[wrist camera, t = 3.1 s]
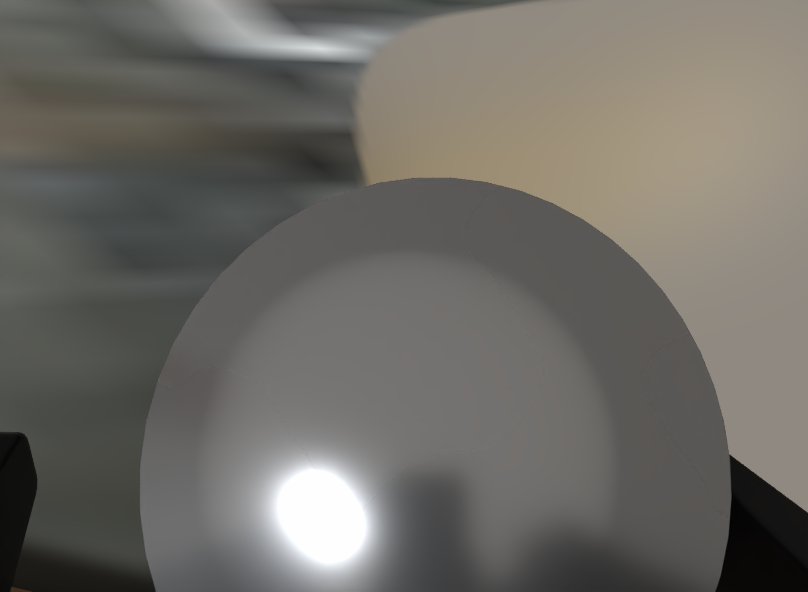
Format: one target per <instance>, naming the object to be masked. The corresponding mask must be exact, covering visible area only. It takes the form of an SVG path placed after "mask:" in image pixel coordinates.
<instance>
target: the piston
mask: <svg viewBox="0 0 808 592" xmlns="http://www.w3.org/2000/svg"><path fill="white" fill-rule="evenodd" d="M730 508H731V477H730V457H729V451H728V445H727V438H726V432H725V426H724V420H723V417H722V413H721V409H720V406H719V402H718V399H717V395H716V391H715V388H714V385H713V382H712V380H711V377H710V375H709V373H708V370H707V367H706V365H705V362H704V360H703V358H702V355H701V352H700V350H699V349H698V347H697V345H696V343H695V341H694V339H693V337H692V336H691V334H690V332H689V330H688V328H687V327H686V325H685V323H684V321H683V319H682V318H681V316H680V315H679V313H678V312H677V311H676V309H675V308H674V306H673V305H672V303H671V302H670V301H669V299H668V298H667V296H666V295H665V293H664V292H663V291H662V290H661V288H660V287H659V286H658V285H657V284H656V283H655V282H654V280H653V279H652V278H651V277H650V276H649V275H648V274H647V272H645V270H644V269H643V268H642V267H641V266H640V265H639V264H638V263H637V262H636V261H635V260H634V259H633V258H632V257H631V256H629V255H628V254H627V253H626V252H625V251H624V250H623V249H622V248H621V247H619V246H618V245H617V244H616V243H615V242H614V241H613V240H611V239H610V238H609V237H607V236H606V235H604V234H603V233H601V232H600V231H599V230H597V229H596V228H594V227H593V226H592V225H590V224H589V223H587V222H586V221H584V220H583V219H581V218H579V217H577V216H575V215H573V214H572V213H570V212H568V211H566V210H564V209H562V208H560V207H559V206H557V205H555V204H553V203H550V202H548V201H545V200H543V199H540V198H538V197H535V196H532V195H530V194H527V193H525V192H522V191H519V190H515V189H511V188H507V187H503V186H499V185H495V184H492V183H487V182H481V181H473V180H465V179H457V178H411V179H404V180H396V181H388V182H381V183H377V184H373V185H369V186H365V187H362V188H358V189H354V190H350V191H347V192H344V193H341V194H339V195H336V196H334V197H331V198H329V199H327V200H324V201H322V202H319V203H317V204H314V205H312V206H310V207H308V208H306V209H305V210H303V211H301V212H299V213H298V214H296V215H294V216H292V217H291V218H289V219H287V220H285V221H284V222H282V223H280V224H278V225H277V226H276V227H274V228H273V229H272V230H270V231H269V232H268V233H266V234H265V235H264V236H262V237H261V238H260V239H258V240H257V241H256V242H255V243H253V244H252V245H251V246H249V247H248V248H247V249H246V250H245V251H244V252H243V253H242V254H241V255H240V256H239V257H238V258H237V259H236V260H235V261H234V262H233V263H232V264H231V265H230V266H229V267H228V268H227V269H226V270H225V271H224V272H223V273H222V274H221V275H220V276H219V277H218V278H217V279H216V281H215V282H214V283H213V284H212V286H211V287H210V288H209V290H208V291H207V292H206V293H205V295H204V296H203V297H202V299H201V300H200V301H199V302H198V304H197V305H196V306H195V308H194V309H193V311H192V313H191V315H190V316H189V318H188V320H187V321H186V323H185V325H184V326H183V328H182V330H181V332H180V333H179V335H178V337H177V338H176V340H175V342H174V344H173V346H172V349H171V351H170V353H169V356H168V358H167V360H166V363H165V365H164V367H163V370H162V372H161V375H160V377H159V379H158V382H157V385H156V389H155V393H154V396H153V400H152V404H151V407H150V411H149V414H148V418H147V422H146V428H145V435H144V442H143V450H142V457H141V464H140V514H141V522H142V529H143V537H144V544H145V552H146V557H147V561H148V564H149V568H150V572H151V575H152V579H153V583H154V586H155V590H156V592H715V591H716V588H717V585H718V582H719V579H720V576H721V571H722V566H723V561H724V556H725V551H726V546H727V541H728V535H729V522H730Z"/></svg>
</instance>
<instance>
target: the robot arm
mask: <svg viewBox="0 0 808 592" xmlns="http://www.w3.org/2000/svg"><path fill="white" fill-rule="evenodd" d="M729 457H730V477H731V508H730V522H729V535H728V541H727V546H726V551H725V556H724V561H723V566H722V571H721V576H720V579H719V582H718V585H717V588H716V591H715V592H808V513H807V512H806V511H805V510H803V509H802V508H801V507H799V506H798V505H797V504H795V503H794V502H793V501H791V500H790V499H789V498H787V497H786V496H784V495H783V494H782V493H780V492H779V491H778V490H776V489H775V488H774V487H772V486H771V485H770V484H768V483H767V482H766V481H764V480H763V479H762V478H760V477H759V476H758V475H756V474H755V473H754V472H752V471H751V470H750V469H748V468H747V467H746V466H744V465H743V464H741V463H740V462H739V461H737V460H736V459H735V458H733V457H732V456H731V455H729ZM36 491H37V474H36V470H35V466H34V462H33V458H32V454H31V450H30V446H29V441H28V439H27V437H26V436H25V435H24V434H23V433H20V432H0V592H10V591H11V587H12V583H13V579H14V576H15V572H16V568H17V564H18V560H19V557H20V553H21V549H22V545H23V541H24V538H25V534H26V530H27V526H28V523H29V519H30V515H31V511H32V507H33V504H34V500H35V496H36Z"/></svg>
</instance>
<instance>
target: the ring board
mask: <svg viewBox="0 0 808 592" xmlns="http://www.w3.org/2000/svg"><path fill="white" fill-rule="evenodd" d="M10 592H32V591H28V590H24V589H19V588H15V587H11V591H10Z"/></svg>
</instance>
